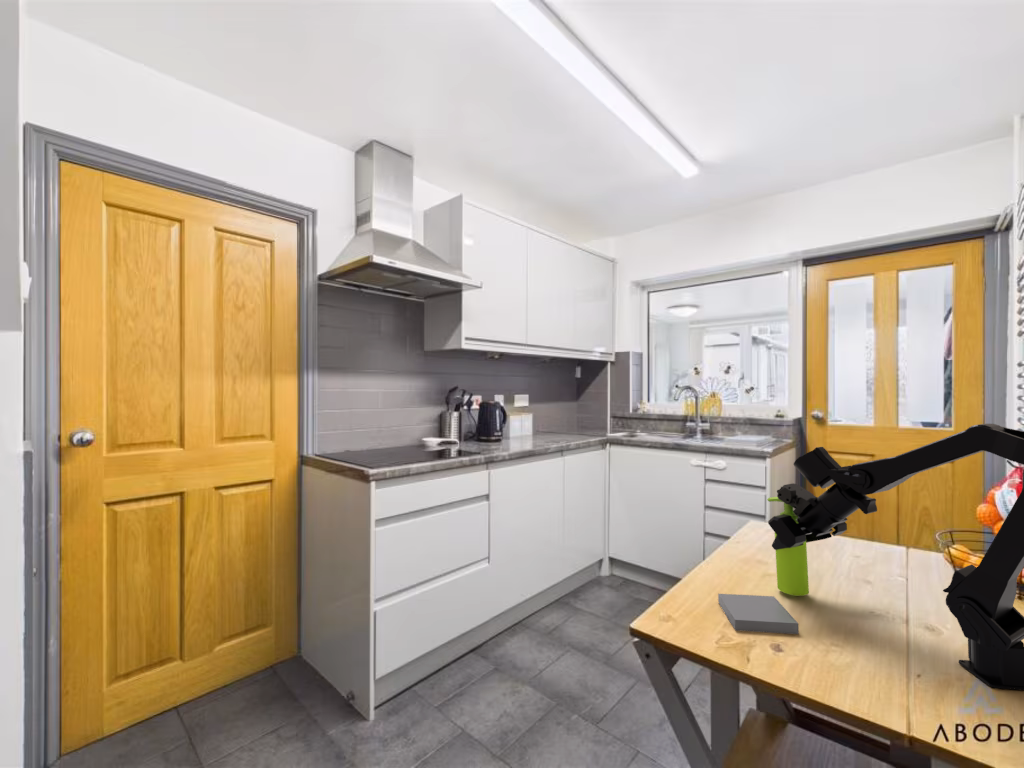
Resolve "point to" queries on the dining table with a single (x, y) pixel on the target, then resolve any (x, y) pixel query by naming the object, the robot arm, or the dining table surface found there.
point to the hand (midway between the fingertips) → (782, 545)
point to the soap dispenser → (791, 563)
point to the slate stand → (757, 614)
